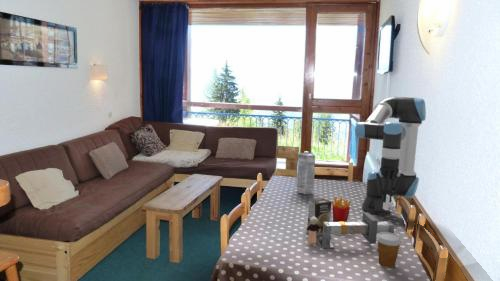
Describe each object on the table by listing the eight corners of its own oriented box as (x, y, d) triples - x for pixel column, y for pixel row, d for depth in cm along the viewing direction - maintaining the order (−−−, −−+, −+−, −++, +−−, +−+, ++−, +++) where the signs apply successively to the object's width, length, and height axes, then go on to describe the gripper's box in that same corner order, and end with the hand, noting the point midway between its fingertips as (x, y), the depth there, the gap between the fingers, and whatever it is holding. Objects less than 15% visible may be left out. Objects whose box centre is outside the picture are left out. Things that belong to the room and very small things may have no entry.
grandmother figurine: (308, 246, 175) (310, 219, 173) (303, 243, 178) (304, 216, 176) (322, 243, 179) (323, 216, 177) (316, 240, 182) (318, 214, 180)
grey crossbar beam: (389, 240, 185) (391, 219, 183) (397, 247, 177) (399, 226, 175) (317, 241, 181) (319, 220, 179) (323, 249, 173) (324, 227, 171)
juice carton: (313, 195, 252) (316, 153, 248) (297, 194, 252) (299, 152, 248) (311, 191, 261) (314, 150, 257) (295, 190, 261) (297, 150, 257)
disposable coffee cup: (370, 259, 165) (373, 231, 163) (392, 258, 166) (395, 231, 164) (380, 270, 156) (382, 241, 154) (403, 269, 157) (406, 241, 155)
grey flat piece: (366, 234, 184) (368, 212, 183) (375, 243, 174) (377, 220, 172) (361, 234, 184) (362, 212, 182) (370, 243, 174) (372, 220, 172)
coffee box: (314, 237, 186) (316, 203, 183) (306, 232, 192) (308, 199, 189) (329, 234, 190) (332, 201, 188) (321, 229, 196) (323, 197, 193)
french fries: (337, 221, 207) (339, 193, 205) (351, 225, 202) (354, 197, 199) (328, 225, 201) (330, 196, 199) (342, 230, 195) (344, 200, 193)
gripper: (400, 155, 178) (395, 206, 182) (372, 155, 177) (368, 206, 180) (408, 159, 171) (403, 212, 174) (379, 158, 169) (375, 212, 173)
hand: (385, 209), depth 177 cm, fingers closed
